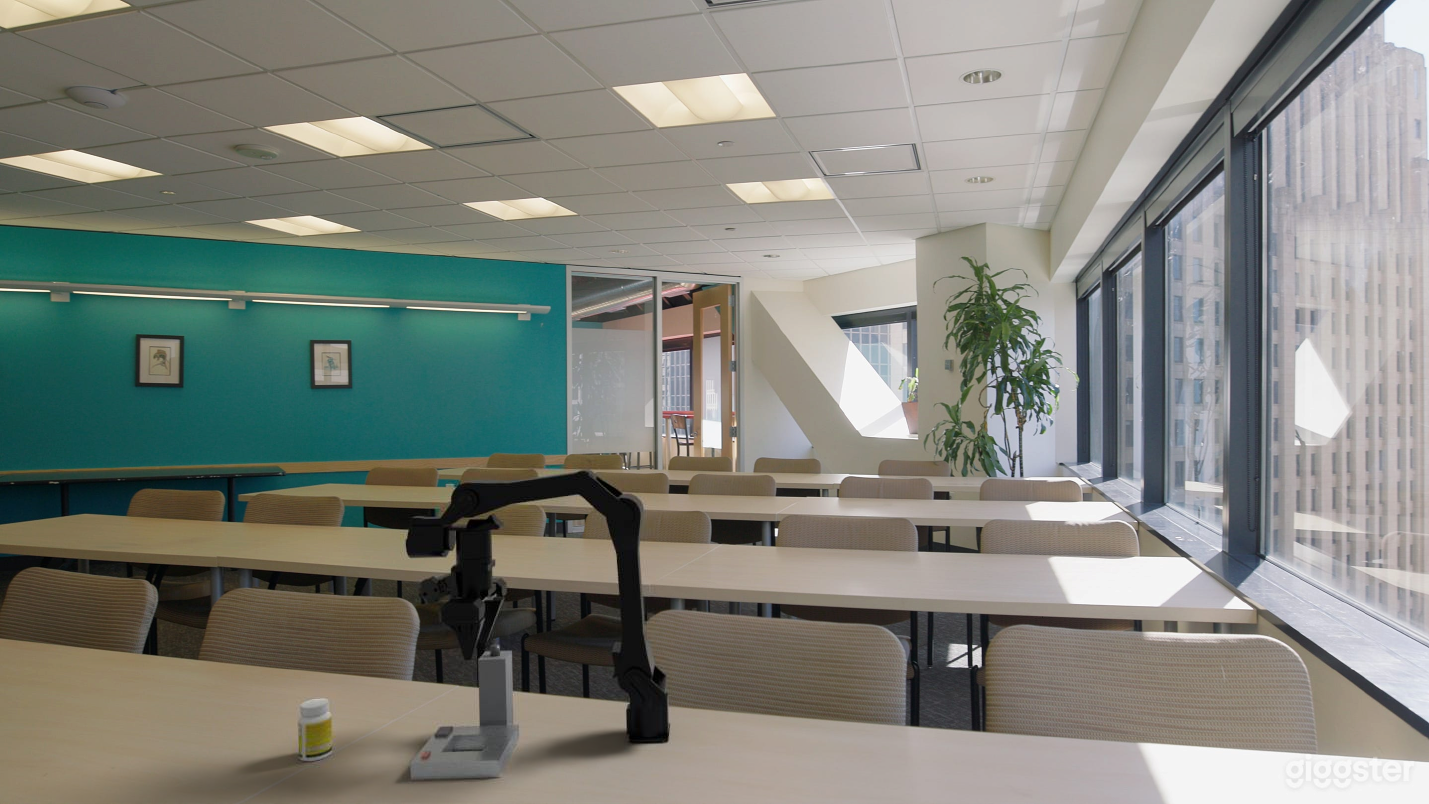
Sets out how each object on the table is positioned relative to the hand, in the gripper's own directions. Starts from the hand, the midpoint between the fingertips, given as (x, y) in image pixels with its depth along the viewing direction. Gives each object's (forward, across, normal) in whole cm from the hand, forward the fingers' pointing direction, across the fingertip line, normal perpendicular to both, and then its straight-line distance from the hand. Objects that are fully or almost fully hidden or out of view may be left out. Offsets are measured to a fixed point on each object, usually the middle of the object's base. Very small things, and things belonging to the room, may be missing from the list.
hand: (476, 651), depth 131 cm
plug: (+15, -3, +2) cm, 15 cm away
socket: (+15, +7, 0) cm, 16 cm away
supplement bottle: (+15, +4, -25) cm, 29 cm away
